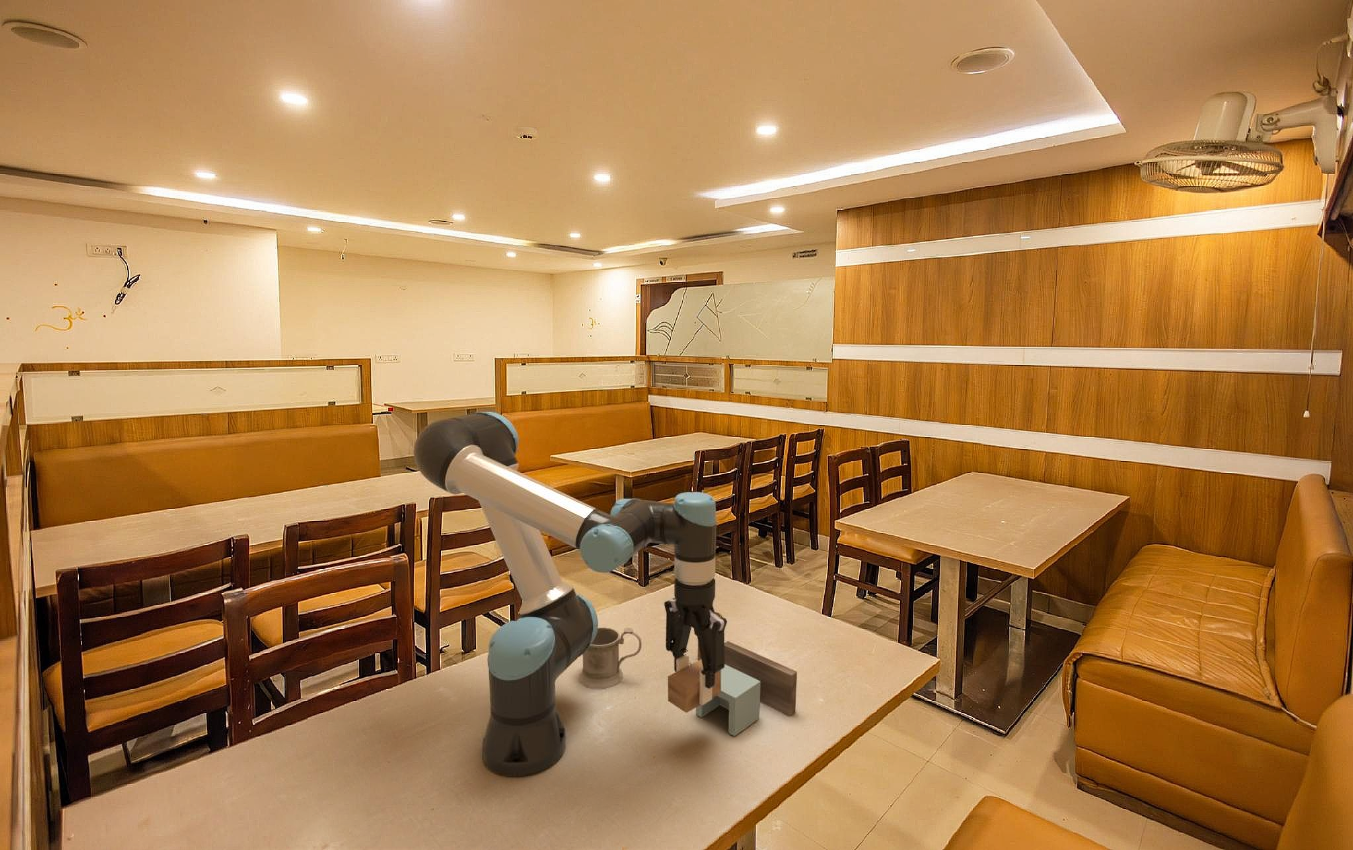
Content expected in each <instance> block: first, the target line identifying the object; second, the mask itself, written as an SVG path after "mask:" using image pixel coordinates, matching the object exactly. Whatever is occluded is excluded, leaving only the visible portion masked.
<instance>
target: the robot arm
mask: <svg viewBox="0 0 1353 850" xmlns="http://www.w3.org/2000/svg"><path fill="white" fill-rule="evenodd" d="M519 442H520V441H519V435H518V432H517V430H516V427H514V425H513V424H512V422H511V421H510V420H508V418H507V417H505V416H503V415H502V414H499V413H497V412H494V411H493V412H492V411H475V412H472V413H468V414H463V415H460V416H459V415H458V416H454V417H450V418H443V419H438V420H435V421H433V422H431V423H429V424H428V425H426V426H425V427H424V428H423V429H422V430H421V431H420V433H418V436H417V438H416V440H415V442H414V445H413V458H414V461H415V462H414V463H415V465H416V467H417V469H418V470H419V473H420V474H421V475H423V477H424V478H425V479H426V480H427V481H429V483H431V484H433V485H434V486H435V487H437V488H439V489H441V490H443V491H445V492H447V493H449V494H451V495H461V494H464V495H466V496H468V497H470V498H472V499H475V500H477V501H478V503H479V504H480V507H481V509H482V512H483V514H484V516H485V518H486V520H487V522H488V525H489V527H490V530H491V532H492V534H493V536H494V537H493V538H494V539H495V541H496V543H497V545H498V548H499V550H500V553H501V554H502V557H503V559H504V561H505V564H506V566H507V570H508V571H509V574H510V575H511V578H512V580H513V582H514V584H515V587H516V590H517V591H518V593H519V596H520V598H521V600H522V602H521V605H520V609H519V611H518V613H519V616H520V618H518V619H517V620H511V621H507V623H504V624H503V625H501V626H500V627H499V628H498V629H496V631H494V633H493V634H492V635H491V638H490V640H489V643H488V654H487V668H488V682H489V683H488V684H489V703H490V717H489V720H488V723H487V727H486V730H485V734H484V736H483V740H482V745H481V750H482V753H481V755H482V761H483V763H484V766H486V768H488V769H489V771H491V772H493V773H495V774H497V775H500V776H505V777H517V778H518V777H525V776H531V775H535V774H537V773H540V772H542V771H545V770H546V769H548V768H550V767H552V766H553V765H554V764H556V763H557V762H558V761H559V760H560V759H561V757H562V756H563V755H564V753H565V750H566V747H567V746H566V745H567V739H566V735H567V734H566V729H565V727H564V724H563V721H562V719H561V716H560V714H559V710H558V709H557V706H556V680H557V679H558V678H559V677H560V676H561V675H562V674H563V673H564V672H565V671H566V670H567V669H568V668H569V667H571V665H572V664H573V663H574V662H575V661H577V659H578V658H580V657H582V656H583V653H585V652H586V650H587V649H588V648H589V646H590V644H591V643H592V642H593V641H594V639H595V637H596V634H597V630H598V628H599V619H598V614H597V611H596V609H595V607H594V605H593V604H592V602H591V601H590V600H589V599H588V598H584V596H583V595H582V594H579V593H576V591H575V589H574V586H573V585H571V584H569V583H566V582H564V581H563V580H562V578H561V576H560V573H559V572H558V569H557V567H556V564H555V562H554V560H553V558H552V555H551V554H550V551H549V549H548V546H547V544H546V542H545V540H544V536H543V535H542V533H544V534H546V535H548V536H550V537H552V538H554V539H556V540H559V541H560V542H562V543H564V544H567V545H568V546H570V547H573V548H574V549H577V550H579V553H580V556H581V559H582V561H583V562H584V563H585V564H586V565H587V566H588V567H587V568H590V570H592V571H594V572H597V573H600V574H601V573H603V574H604V573H610V572H612V571H615V570H617V568H621V567H622V566H623V565H625V564H626V563H628V561H629V560H630V559H631V558H632V557H633V556H634V555H635V554H636V553H639V551H642V549H643V548H645V547H646V546H647V545H649V543H651V544H652V543H653V544H661V545H662V544H663V545H673V547H674V554H673V555H674V563H673V564H674V568H673V569H674V570H673V573H674V574H673V576H674V577H675V578H674V580H673V581H674V582H673V583H674V585H673V586H674V587H673V588H674V589H673V591H674V597H673V598H671V599H668V600H666V601H664V603H663V604H664V609H665V614H666V615H665V649H666V651H667V652H671V654H672V656H673V665H674V666H673V671H674V673H675V672H677V671H679V670H681V669H683V668H685V667H687V666H689V665H690V663H689V662H690V655H689V654H685V653H687V652H688V651H689V650H688V649H687V648H688V644H689V640H690V635H691V631H692V628H693V632H694V633H693V634H694V635H695V636H696V638H697V645H698V644H699V649H700V654H701V660H702V665H703V669H702V670H700V702H699V704H701V705H704V704H706V703H707V702H709V701H710V700H712V687H713V686H714V685H715V673H716V672H718V671H720V670H721V669H723V668H724V666H725V654H724V643H725V629H726V627H727V623H728V621H727V619H726V618H725V617H723V618H722V619H720V618H719V617H718V616H716V615H715V612H716V611H715V609H714V600H715V598H716V579H715V577H716V547H717V541H716V540H717V523H718V519H717V510H716V509H717V508H716V506H717V505H716V500H715V498H714V497H713V496H712V495H710V494H708V493H705V492H701V491H700V492H699V491H692V492H689V491H687V492H680V493H678V494H677V495H676V496H675V498H674V502H663V501H662V502H661V501H655V500H645V499H640V498H636V497H635V498H633V497H632V498H619V499H618V500H616V502H615V503H614V506H612V508H611V510H610V514H609V513H606V512H605V511H602V510H601V509H598V508H596V507H594V506H592V505H589V504H587V503H586V502H583V501H581V500H578V499H577V498H575V497H572V496H571V495H568V494H566V493H564V492H562V491H560V490H558V489H555V488H554V487H551V486H549V485H547V484H545V483H543V482H540V481H538V480H536V479H535V478H532V477H530V476H529V475H526V474H524V473H522V472H520V471H518V468H519V466H520V465H519V462H518V459H517V457H516V455H517V452H518V450H519V449H518V446H519V444H520V443H519ZM541 532H542V533H541ZM710 621H711V622H710Z"/></svg>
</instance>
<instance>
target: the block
mask: <svg viewBox="0 0 1353 850" xmlns="http://www.w3.org/2000/svg"><path fill="white" fill-rule="evenodd" d="M760 703H761V702H760V681H759V680H757V679H755V678H752V677H750V676H748V675H746V674H744V673H742V672H740V671H738V670H736V669H734V668H731V667H729V666H727V665H725V666H724V668H723V669H721V693H720V694H718V695H717V696H715V697H713V698H712V700H710V701H709V702H707V703H706V704H704V705H699V706H698V707H696V708H695V715H696V716H699V718H703V717H705V716H706V715H708V714H709V713H711V712H712V711H713V710H715V709H717V708H718V707H719V706H721V707H723V708H725V709H726V710H728V734H730V735H732V736H733V737H736V736H737V735H739V734H740V733H741V732H742V731H744V730H745V729H746V728H748V727H749V726H751V725H753V723H754V722H756V721H757V720H759V719H760V711H761V710H760V708H761V705H760Z"/></svg>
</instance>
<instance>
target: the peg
mask: <svg viewBox="0 0 1353 850" xmlns="http://www.w3.org/2000/svg"><path fill="white" fill-rule="evenodd" d="M702 669H703V665H702V660H699V661H697V662H695V663H693V664H691V663H690V664H689V666H687V667H685V668H683V669H681V670H679V671H677V672H675V671H674V672H673V673H671V674H669V675H668V676H667V701H668V703H670V704H672V705H674V706H675V707H677V708H678V709H680V710H681V711H682V712H684V713H685V714H687V713H689V712H690V711H693V710H694V709H696V707H698V706H699V705H701V704H699V702H700V670H702ZM720 693H721V670H720V671H718V672H716V673H715V685H714V686H713V687H712V698H713V697H715V696H717V695H718V694H720Z"/></svg>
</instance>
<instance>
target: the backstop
mask: <svg viewBox="0 0 1353 850" xmlns="http://www.w3.org/2000/svg"><path fill="white" fill-rule="evenodd" d="M724 654H725V665H727V666H729V667H731V668H734V669H736V670H738V671H740V672H742V673H744V674H746V675H748V676H750V677H752V678H755V679H757V680H759V681H760V703H763V704H764V705H767V706H768V707H770V708H772V709H774V710H776V711H778V712H780V713H782V714H783V715H786V716H788V717H792V715H794V714H795V713H796V711H797V710H796V708H797V707H796V706H797V686H798V685H797V681H798V671H797V670H794V669H792V668H790V667H788V666H786V665H784V664H780V663H778V662H777V661H774V660H772V659H770V658H767V657H766V656H763V655H761V654H758V653H756V652H753V651H751V650H749V649H747V648H745V647H742V646H740V645H738V644H735V643H733V642H730V640H729V641H728V640H727V641H724Z"/></svg>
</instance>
